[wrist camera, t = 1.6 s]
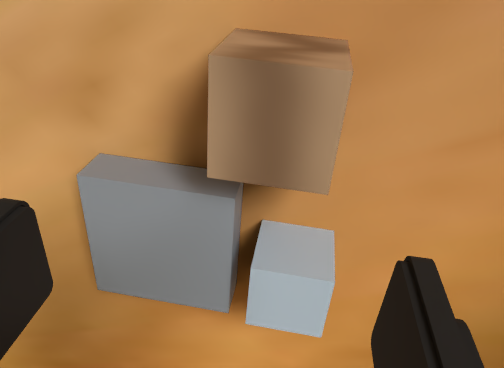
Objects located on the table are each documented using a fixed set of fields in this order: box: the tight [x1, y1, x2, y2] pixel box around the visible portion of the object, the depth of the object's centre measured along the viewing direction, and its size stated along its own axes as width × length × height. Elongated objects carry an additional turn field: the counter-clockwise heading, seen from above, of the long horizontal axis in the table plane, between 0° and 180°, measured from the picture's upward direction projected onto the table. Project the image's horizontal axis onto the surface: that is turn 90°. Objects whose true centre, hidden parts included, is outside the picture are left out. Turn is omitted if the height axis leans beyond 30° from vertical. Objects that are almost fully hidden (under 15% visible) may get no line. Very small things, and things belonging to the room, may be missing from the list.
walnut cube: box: [207, 28, 353, 195], centre depth 21 cm, size 6×6×6 cm
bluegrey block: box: [245, 220, 335, 337], centre depth 27 cm, size 5×5×5 cm
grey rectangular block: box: [77, 153, 243, 313], centre depth 28 cm, size 10×10×3 cm
